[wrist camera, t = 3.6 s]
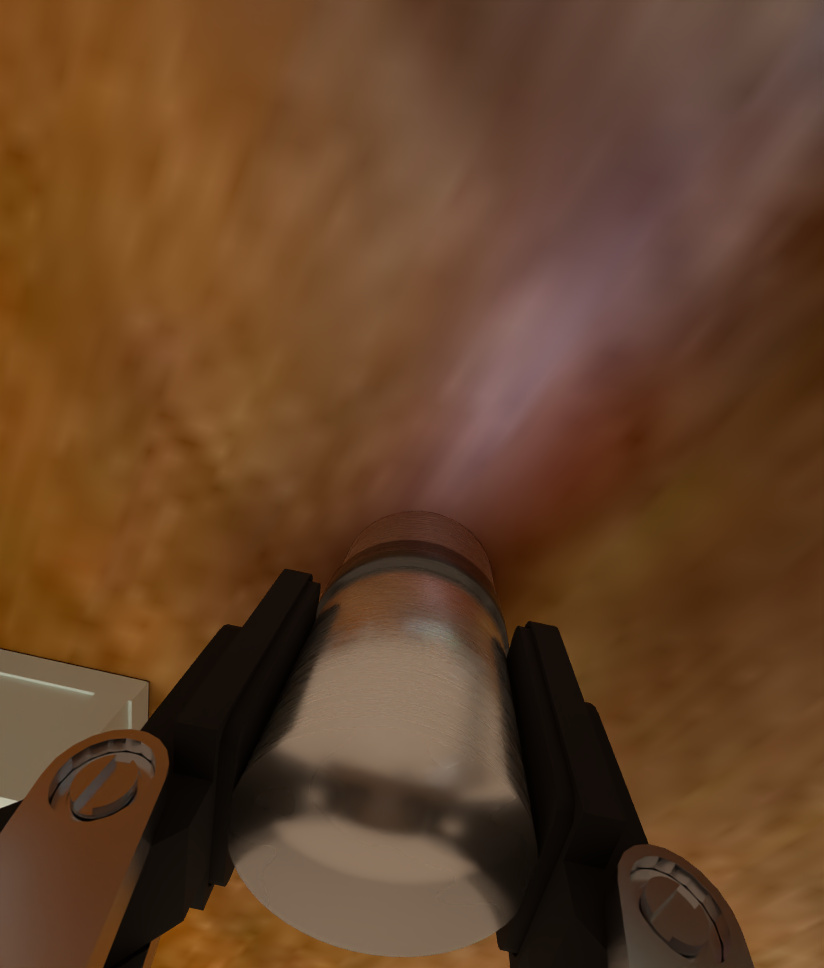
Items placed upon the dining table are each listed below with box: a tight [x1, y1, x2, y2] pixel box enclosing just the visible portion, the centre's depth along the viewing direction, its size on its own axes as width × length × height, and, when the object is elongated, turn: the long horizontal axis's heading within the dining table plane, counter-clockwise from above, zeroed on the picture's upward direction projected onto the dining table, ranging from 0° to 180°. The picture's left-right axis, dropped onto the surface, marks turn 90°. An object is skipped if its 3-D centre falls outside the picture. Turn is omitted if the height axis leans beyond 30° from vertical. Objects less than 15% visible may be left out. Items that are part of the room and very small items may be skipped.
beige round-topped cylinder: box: [227, 511, 538, 957], centre depth 9 cm, size 4×4×7 cm
